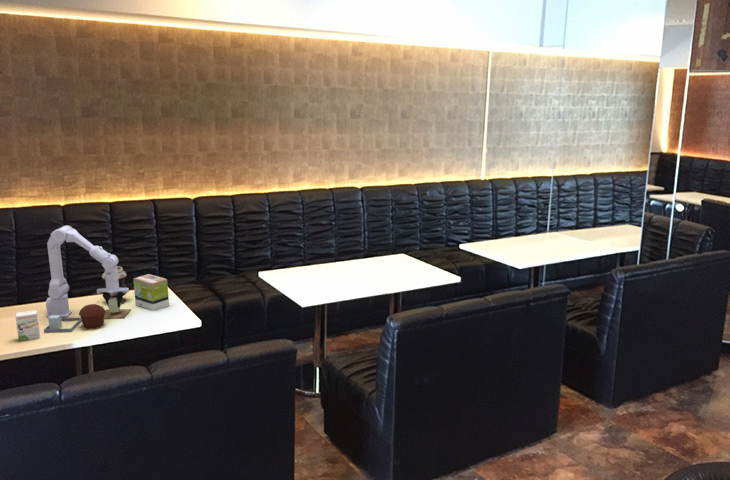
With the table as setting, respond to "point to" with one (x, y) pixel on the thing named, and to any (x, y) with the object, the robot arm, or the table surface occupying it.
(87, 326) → the muffin
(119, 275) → the apothecary jar
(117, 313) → the walnut board
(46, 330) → the parts tray
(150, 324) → the table surface
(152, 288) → the tea box
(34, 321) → the ink box
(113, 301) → the sage block
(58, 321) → the blue block
